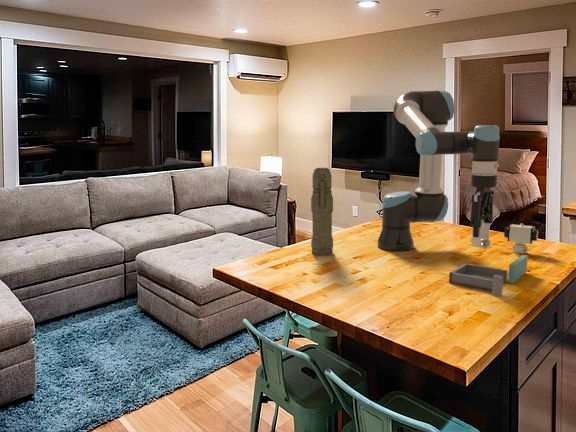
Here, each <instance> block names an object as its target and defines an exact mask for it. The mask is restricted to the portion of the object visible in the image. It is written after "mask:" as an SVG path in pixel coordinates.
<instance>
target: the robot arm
mask: <svg viewBox="0 0 576 432" xmlns="http://www.w3.org/2000/svg"><path fill="white" fill-rule="evenodd" d="M393 115H394V118H395V119H396V121H398V122H399V123H400V124H401V125H402V124H403V125H404V126H405V127H406V128H407V129H408V131H409V132H410V133H411V135H413V136H414V138H415V148H416V152H417V154H419V155H420V158H419V174H418V175H419V177H418V180H419V181H418V187H416V188H415V189H414V194H412V193H411V191H406V190H405V191H395V192H394V191H393V192H391V193H390V192H389V193H387V194H385V195H384V196H383V198H382V205H381V207H382V209H381V210H382V213H381V215H382V217H381V221H382V222H381V231H380V233H379V236H378V239H377V247H378V248H379V249H382V250H386V251H392V252H405V251H410V250H413V249H414V247H415V244H414V242H415V241H414V238H413V235H412V232H411V223H434V222H441V221H443V220H444V219H445V217H446V215H447V213H448V209H449V199H448V196H447V195H446V194H445V193H444V192H445V191H444V189H442V188H441V175H442V161H443V160H442V159H443V155H472V160H471V161H472V164H471V173H472V175H471V179H470V180H471V182H470V183H471V184H470V185H471V187H473V188H476V190H475V192H474V194H472V196H471V208H470V209H471V210H470V218H469V219H470V221H469V227H472V233H471V236H472V242H471V247H475V248H480V247H481V237H482V227H481V222H482V217H483V211H484V210H487V211H492V212H493V213H494V194H495V191H494V190H492V189H493V188H495V187H497V183H498V181H497V180H498V176H497V175H496V174H497V173H498V168H499V167H500V164H498V161H499V150H500V139H501V136H500V127H499V125H496V124H494V125H493V124H492V125H486V124H485V125H476V126H475V127H474V128H473V130H465V131H444V130H445V128H446V127H448V126H449V125H448V124H449V121H451V120H452V119H454V115H455V102H454V98H453V96H452V95H451V93H450V92H449V91H445V90H419V91H418V90H413V91H407V92H405V93H404V94H402V95H400V96H399V97H398V98H397V100H396V101H395V103H394V105H393ZM491 188H492V189H491ZM493 216H494V214H493V215H492V216H490V214H488V216H486V218H485V220H483V222H485V227H483V228H484V230H486V234H485V237H486V238H487V239H489V240H490V228H491V224H493V223H494V220H493V219H494V217H493Z"/></svg>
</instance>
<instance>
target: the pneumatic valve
mask: <svg viewBox="0 0 576 432" xmlns="http://www.w3.org/2000/svg"><path fill="white" fill-rule="evenodd" d="M503 236H504V238H505V239H506V240H507V242H513V243H514V244H513V245H512V251H513V253H515V254H520V255H521V254H522V255H524V254H525V253H528V249H529V248H528V246H527V245H526V244H529V245H532V244H533V242H535V241H536V242H537V241H538V237H539V230H538V229H536V227H535V226H534V225H533V226H532V225H525V224H524V223H520V224H513V223H511V224H509V225H508V226H506V227H504V234H503Z"/></svg>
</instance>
